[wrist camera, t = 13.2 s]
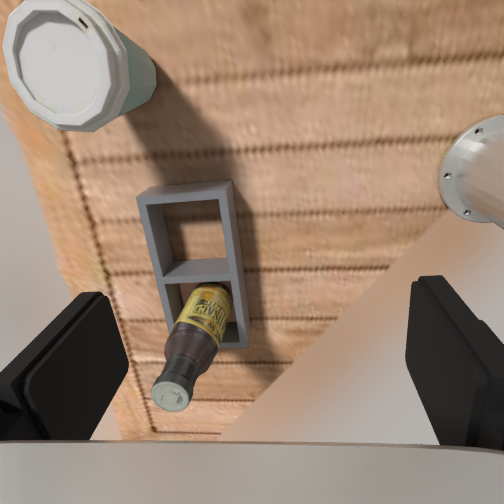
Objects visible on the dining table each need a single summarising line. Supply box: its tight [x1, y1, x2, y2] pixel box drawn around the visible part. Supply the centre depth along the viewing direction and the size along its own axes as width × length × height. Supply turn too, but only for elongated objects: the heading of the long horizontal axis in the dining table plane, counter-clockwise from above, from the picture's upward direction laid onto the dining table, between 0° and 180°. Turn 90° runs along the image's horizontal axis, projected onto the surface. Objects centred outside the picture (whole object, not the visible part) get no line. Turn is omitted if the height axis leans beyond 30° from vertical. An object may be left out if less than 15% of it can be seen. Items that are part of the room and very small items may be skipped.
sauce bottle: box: [151, 281, 233, 412], centre depth 44 cm, size 6×6×20 cm
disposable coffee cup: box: [2, 0, 157, 132], centre depth 35 cm, size 11×11×15 cm
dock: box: [136, 180, 251, 349], centre depth 49 cm, size 11×23×5 cm, turn 6°
